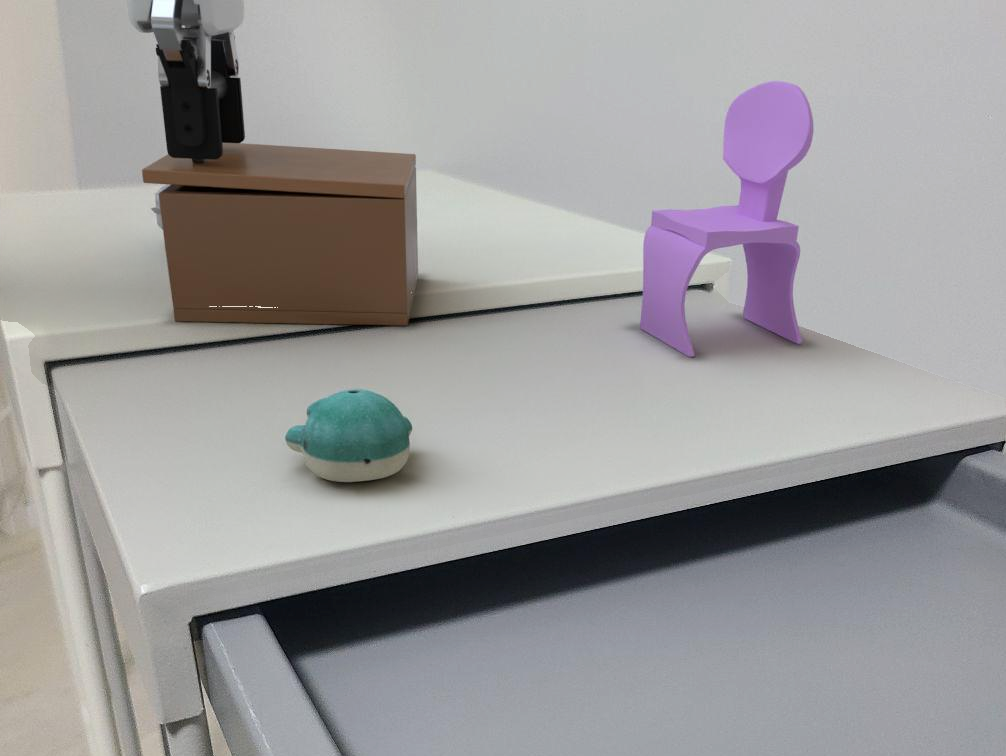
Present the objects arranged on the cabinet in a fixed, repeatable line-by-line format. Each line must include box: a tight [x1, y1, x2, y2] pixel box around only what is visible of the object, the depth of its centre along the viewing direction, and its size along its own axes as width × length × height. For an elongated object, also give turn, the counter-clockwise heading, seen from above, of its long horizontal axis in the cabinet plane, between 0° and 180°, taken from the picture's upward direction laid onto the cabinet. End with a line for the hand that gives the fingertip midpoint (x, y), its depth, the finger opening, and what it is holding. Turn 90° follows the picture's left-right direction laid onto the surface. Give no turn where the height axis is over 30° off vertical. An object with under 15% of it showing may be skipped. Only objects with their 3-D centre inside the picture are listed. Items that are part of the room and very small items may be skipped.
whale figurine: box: [284, 388, 413, 483], centre depth 49 cm, size 6×7×4 cm
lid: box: [141, 70, 417, 198], centre depth 68 cm, size 15×12×6 cm
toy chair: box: [639, 80, 814, 358], centre depth 65 cm, size 8×9×15 cm
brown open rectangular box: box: [158, 166, 419, 327], centre depth 71 cm, size 15×12×8 cm
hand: (208, 146), depth 68 cm, fingers closed on lid, 6 cm apart
